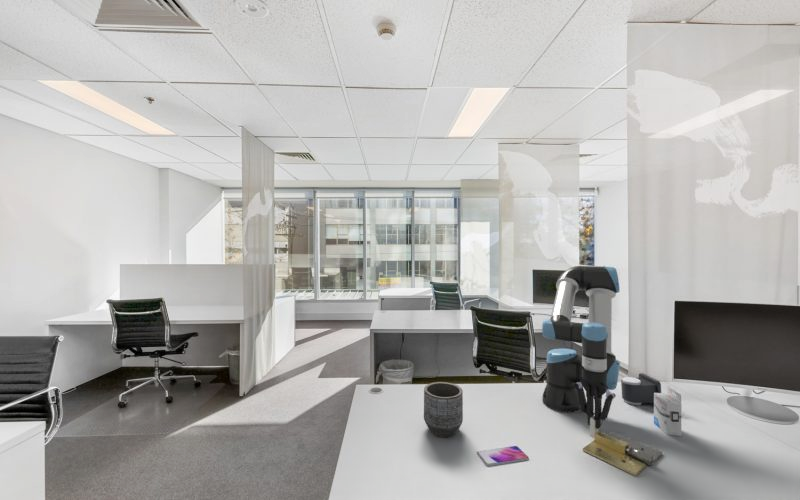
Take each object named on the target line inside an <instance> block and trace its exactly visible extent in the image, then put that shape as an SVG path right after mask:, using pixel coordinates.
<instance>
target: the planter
mask: <svg viewBox="0 0 800 500" xmlns="http://www.w3.org/2000/svg"><path fill="white" fill-rule="evenodd" d="M463 397H464V396H463V388H462V387H461V386H459V385H458V384H455V383H452V382H446V381H445V382H444V381H436V382H431V383H428V384H426V385H425V386H424V389H423V421H424V422H425V425H426V426H427V428H428V430H430V431H429V432H431V434H433V435H434V436H437V437H441V438H450V437H452V436H454V435H456V433H457V432H458V431H459V430H460V428H461V426H462V424H463V419H464V418H463V416H464V414H463V413H464V412H463V411H464V410H463V406H464V405H463V404H464V401H463V399H464V398H463Z"/></svg>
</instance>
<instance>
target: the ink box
mask: <svg viewBox="0 0 800 500" xmlns="http://www.w3.org/2000/svg"><path fill="white" fill-rule="evenodd" d="M673 393H674V394H673ZM653 423H654V424H655V425H656V426H657V427H658V428H659V429H660V430H661V431H662V432H663V433H665V434H666V435H668V436H682V394H681V393H679V392H677V391H676V390H674V389H673V388H672V387H671V386H668V385H667V386H666V393H662V392H661V393H654V404H653Z"/></svg>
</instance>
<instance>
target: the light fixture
mask: <svg viewBox="0 0 800 500" xmlns="http://www.w3.org/2000/svg"><path fill="white" fill-rule="evenodd" d="M620 383H621V384H620V385H621V386H620V387H621V398H622V399H623V402H625V403H627V404H629V405H634V406H641V405H642V404H644V403H645V404H649V403H650V404H652V405H654V393H662V385H661V381H659V380H657V379H655V378H653V377H651V376H649V375H648V374H645V373H641V372H640V373H638V377H632V376H624V377H622V379H621V381H620Z"/></svg>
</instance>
